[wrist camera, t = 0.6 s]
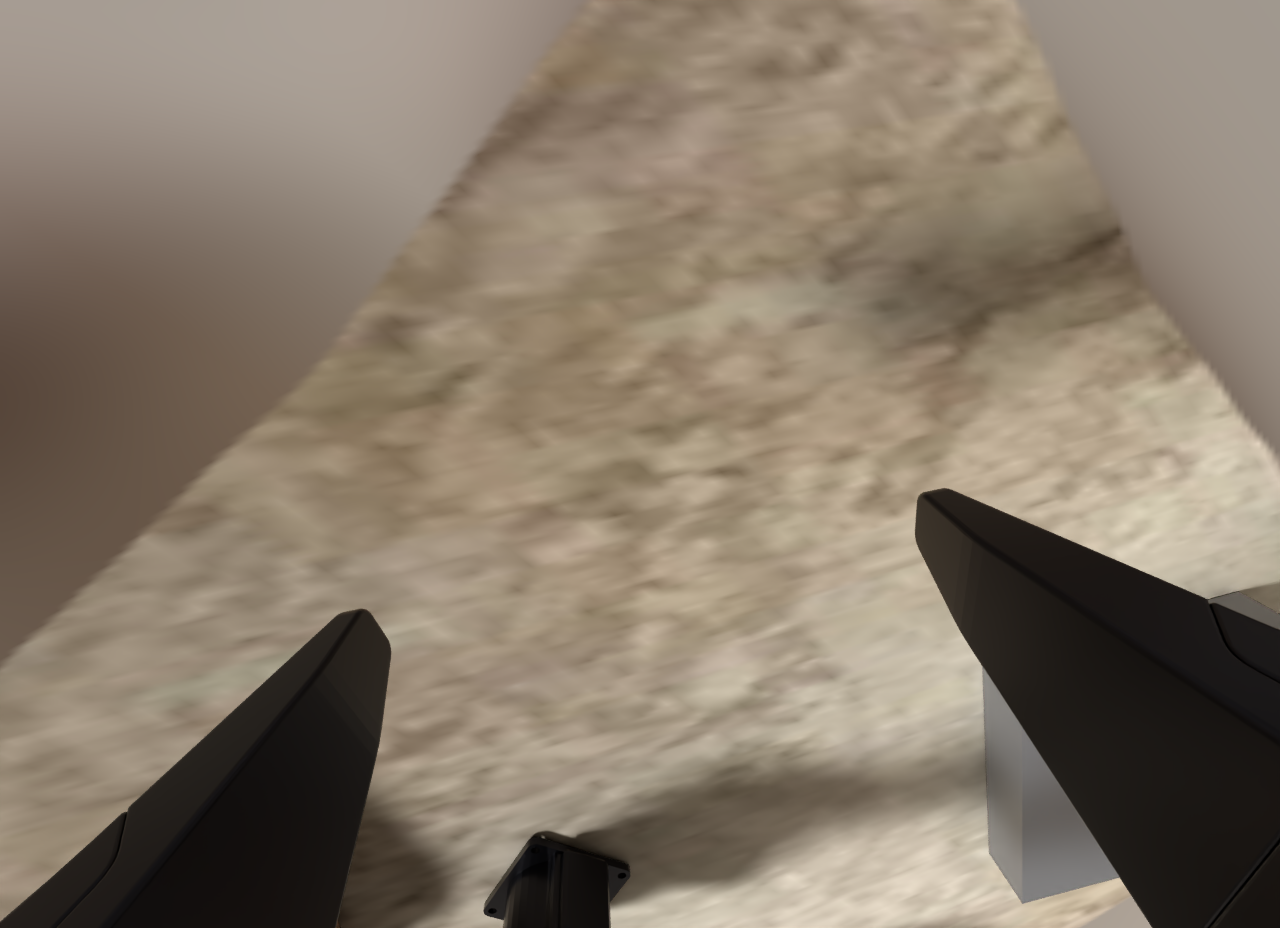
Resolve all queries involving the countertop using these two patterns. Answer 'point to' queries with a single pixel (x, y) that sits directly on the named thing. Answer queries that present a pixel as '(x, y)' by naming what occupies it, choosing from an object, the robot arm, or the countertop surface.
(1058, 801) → the box
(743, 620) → the countertop surface
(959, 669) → the countertop surface
